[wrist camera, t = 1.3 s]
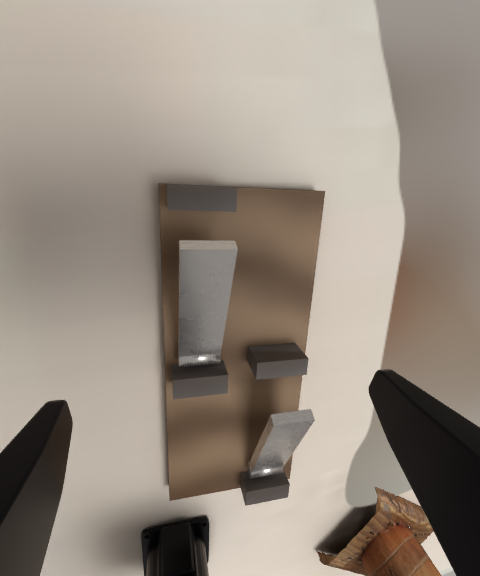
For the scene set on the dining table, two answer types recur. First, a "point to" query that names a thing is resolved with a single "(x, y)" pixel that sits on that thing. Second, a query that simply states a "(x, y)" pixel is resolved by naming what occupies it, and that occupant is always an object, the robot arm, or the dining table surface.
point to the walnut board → (238, 332)
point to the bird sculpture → (388, 542)
